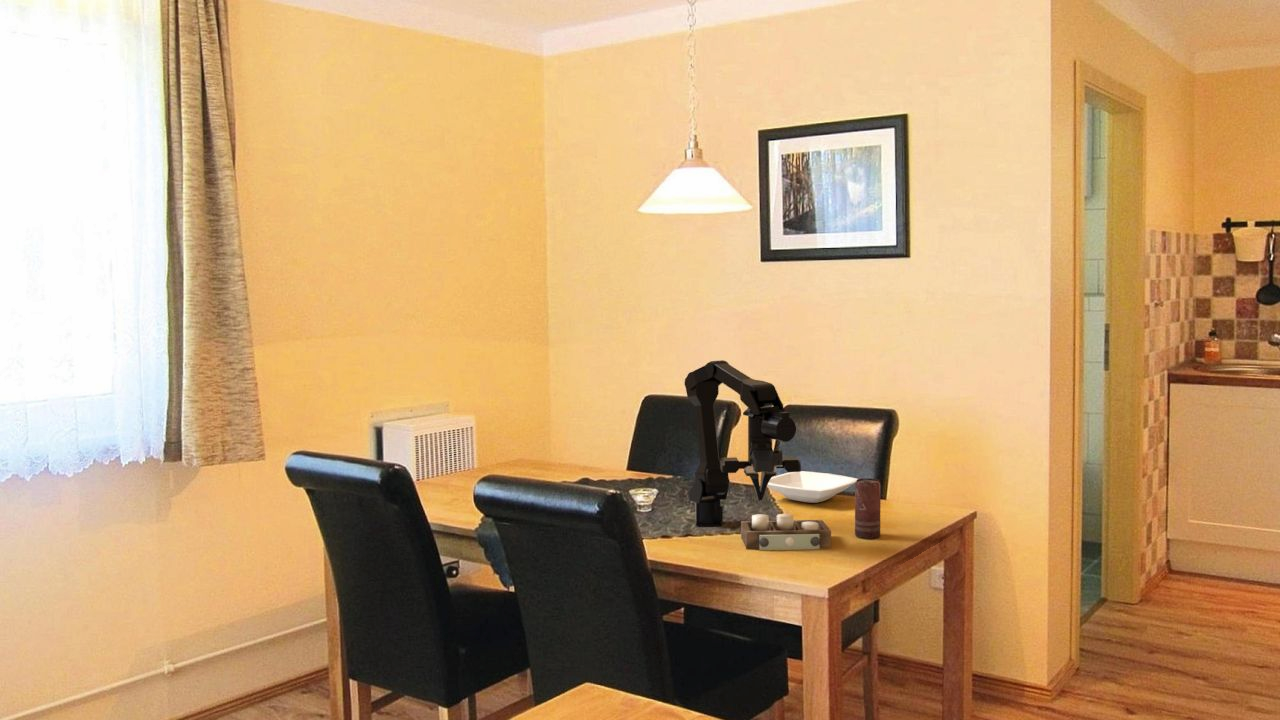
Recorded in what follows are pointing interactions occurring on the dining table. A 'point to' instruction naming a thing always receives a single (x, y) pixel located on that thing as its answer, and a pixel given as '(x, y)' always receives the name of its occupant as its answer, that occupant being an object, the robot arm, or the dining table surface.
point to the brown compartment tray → (783, 533)
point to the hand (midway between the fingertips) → (760, 500)
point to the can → (867, 508)
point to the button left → (760, 522)
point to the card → (789, 542)
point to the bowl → (809, 485)
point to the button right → (809, 525)
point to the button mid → (785, 521)
